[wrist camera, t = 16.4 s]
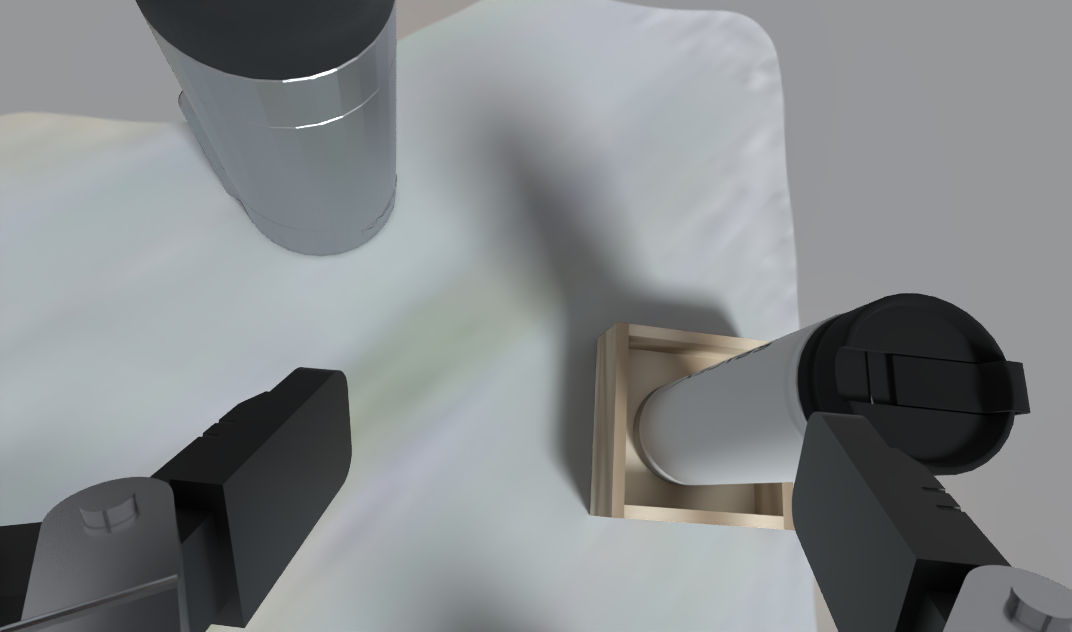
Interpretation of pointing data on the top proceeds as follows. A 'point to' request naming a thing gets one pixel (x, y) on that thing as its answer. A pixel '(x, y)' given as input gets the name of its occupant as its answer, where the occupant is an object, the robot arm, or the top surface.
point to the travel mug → (840, 396)
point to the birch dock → (617, 469)
